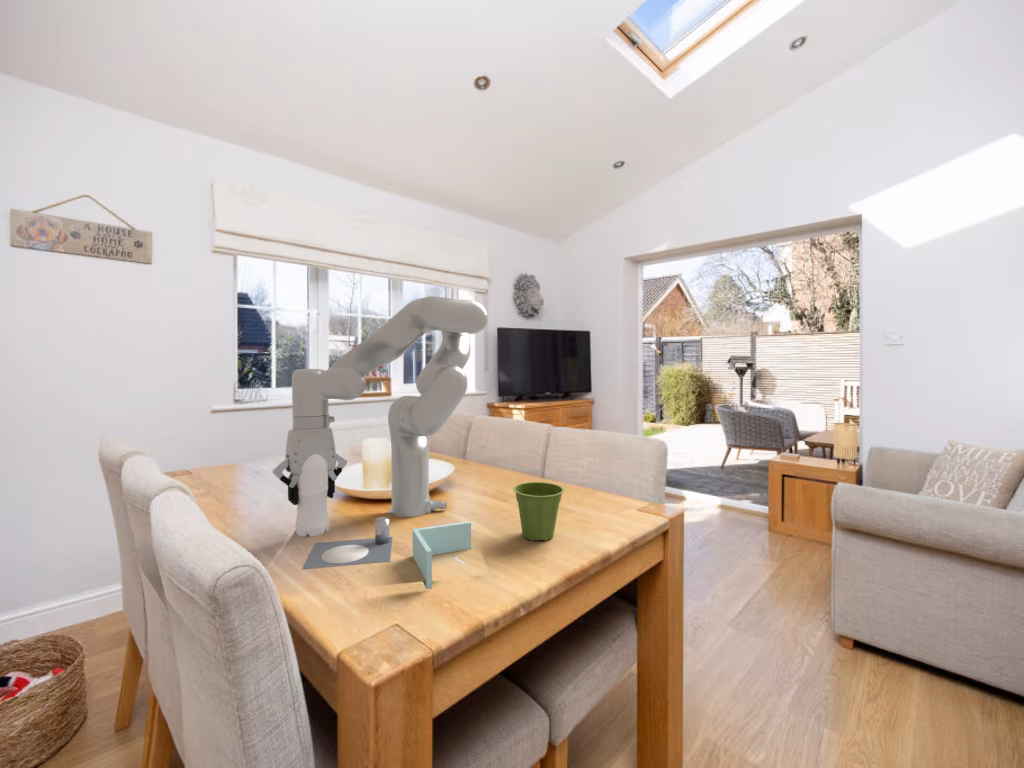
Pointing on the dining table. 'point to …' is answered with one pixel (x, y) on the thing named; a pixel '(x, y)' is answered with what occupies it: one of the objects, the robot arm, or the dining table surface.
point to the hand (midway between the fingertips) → (312, 499)
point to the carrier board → (348, 553)
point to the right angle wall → (439, 544)
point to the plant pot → (538, 508)
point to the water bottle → (312, 498)
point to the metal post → (382, 530)
